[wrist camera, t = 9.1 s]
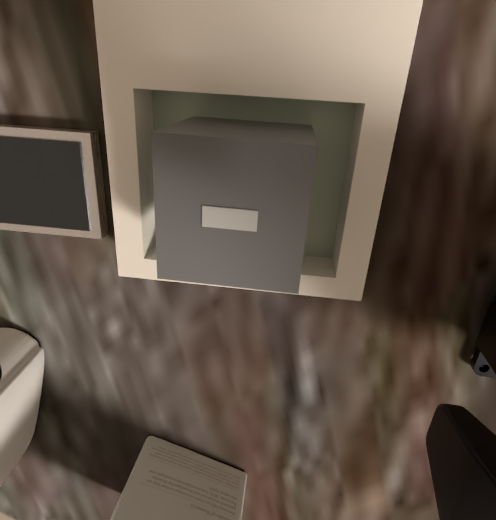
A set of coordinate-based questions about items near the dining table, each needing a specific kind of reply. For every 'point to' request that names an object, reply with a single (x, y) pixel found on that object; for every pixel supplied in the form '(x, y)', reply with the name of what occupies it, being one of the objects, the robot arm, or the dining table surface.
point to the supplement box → (180, 486)
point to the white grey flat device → (260, 108)
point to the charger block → (233, 201)
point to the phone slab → (51, 181)
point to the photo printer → (18, 395)
